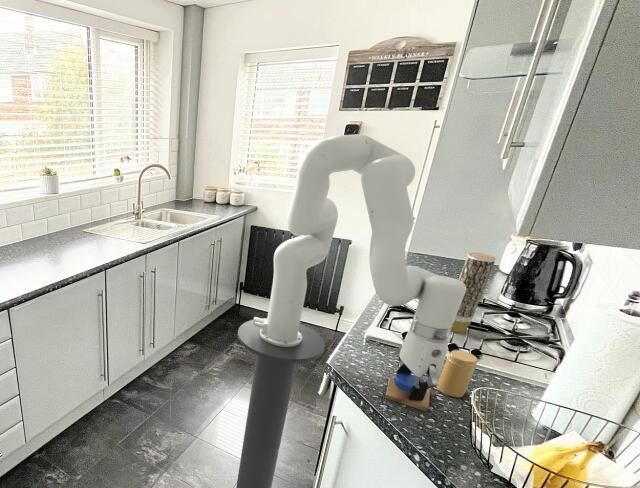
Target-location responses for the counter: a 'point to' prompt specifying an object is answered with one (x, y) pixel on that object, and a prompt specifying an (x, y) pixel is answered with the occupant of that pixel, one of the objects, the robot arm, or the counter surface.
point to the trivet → (405, 396)
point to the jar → (457, 373)
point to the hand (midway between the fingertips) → (407, 390)
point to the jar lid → (405, 381)
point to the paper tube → (472, 287)
